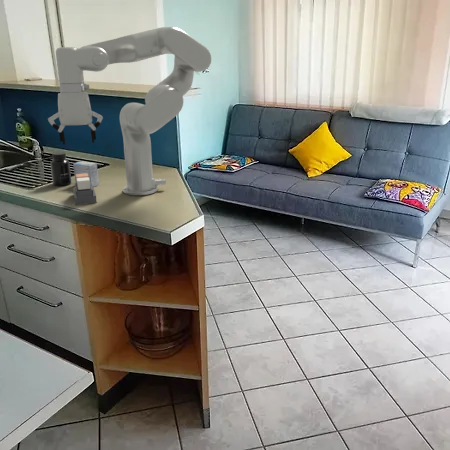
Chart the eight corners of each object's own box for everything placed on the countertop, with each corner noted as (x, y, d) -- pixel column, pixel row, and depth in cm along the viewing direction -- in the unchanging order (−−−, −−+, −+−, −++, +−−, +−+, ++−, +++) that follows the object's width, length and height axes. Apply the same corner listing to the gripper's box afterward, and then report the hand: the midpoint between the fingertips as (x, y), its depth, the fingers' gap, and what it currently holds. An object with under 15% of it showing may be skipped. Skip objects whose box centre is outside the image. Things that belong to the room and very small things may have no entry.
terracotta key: (88, 181, 169) (87, 173, 168) (89, 184, 165) (88, 176, 164) (76, 182, 168) (75, 174, 166) (77, 185, 164) (76, 177, 163)
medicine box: (99, 185, 181) (97, 163, 178) (92, 188, 178) (89, 165, 175) (83, 182, 184) (80, 160, 181) (75, 185, 181) (72, 163, 178)
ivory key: (89, 185, 164) (88, 177, 163) (90, 188, 160) (89, 180, 159) (77, 186, 163) (76, 178, 162) (78, 189, 159) (77, 181, 158)
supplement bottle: (66, 187, 179) (62, 155, 175) (49, 185, 180) (45, 155, 176) (75, 182, 185) (71, 151, 181) (59, 181, 186) (55, 151, 182)
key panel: (93, 192, 172) (92, 180, 170) (96, 202, 161) (95, 190, 160) (73, 194, 170) (72, 182, 168) (75, 204, 159) (73, 192, 158)
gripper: (99, 86, 156) (104, 139, 162) (43, 88, 150) (51, 142, 157) (101, 89, 149) (106, 143, 155) (43, 90, 144) (50, 146, 150)
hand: (78, 142), depth 156 cm, fingers open, 8 cm apart
